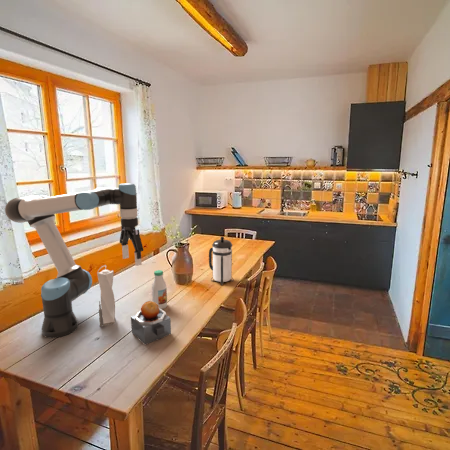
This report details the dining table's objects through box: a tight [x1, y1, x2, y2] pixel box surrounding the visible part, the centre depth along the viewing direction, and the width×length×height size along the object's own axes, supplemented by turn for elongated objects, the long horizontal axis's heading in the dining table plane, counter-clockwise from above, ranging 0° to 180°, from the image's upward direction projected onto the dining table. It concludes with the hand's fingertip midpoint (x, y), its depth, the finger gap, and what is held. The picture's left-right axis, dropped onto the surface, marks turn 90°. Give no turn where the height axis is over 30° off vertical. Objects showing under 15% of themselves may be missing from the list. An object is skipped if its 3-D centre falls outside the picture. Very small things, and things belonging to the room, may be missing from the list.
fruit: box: [140, 300, 159, 319], centre depth 142 cm, size 8×8×8 cm
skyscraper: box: [96, 264, 116, 327], centre depth 152 cm, size 8×8×28 cm
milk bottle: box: [151, 269, 168, 310], centre depth 168 cm, size 8×8×20 cm
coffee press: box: [208, 236, 235, 286], centre depth 203 cm, size 17×16×30 cm
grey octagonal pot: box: [130, 308, 172, 345], centre depth 142 cm, size 13×15×9 cm
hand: (132, 261), depth 148 cm, fingers open, 13 cm apart
